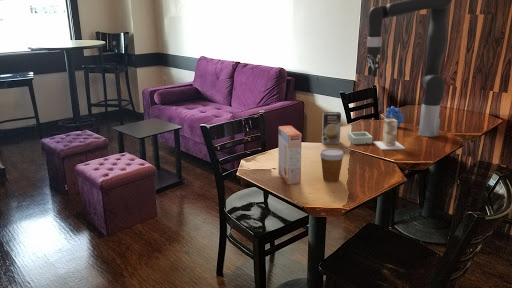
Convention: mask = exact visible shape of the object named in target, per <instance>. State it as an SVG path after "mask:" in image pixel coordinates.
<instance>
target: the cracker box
mask: <svg viewBox="0 0 512 288" xmlns="http://www.w3.org/2000/svg"><path fill="white" fill-rule="evenodd" d="M277 131H278V170H277V171H278V175H280V177H281V178H282V180H284V181H285V183H286V185H298V184H301V183H302V182H301V181H302V140H303V139H302V138H303V137H302V136H303V135H302V133H301V132H300V131H299V130H297V129H296V128H295V127H294V126H293V125H281V126H278V130H277Z"/></svg>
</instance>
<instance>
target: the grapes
mask: <svg viewBox="0 0 512 288" xmlns="http://www.w3.org/2000/svg"><path fill="white" fill-rule="evenodd" d="M384 116H385V117H386V119H395V120H397V121H398V122H397V127H400V126H401V124H403V123H404V113H402V112H401V109H400V108H399V107H397V108H396V107H395V106H393V105H391V107H387V108H386V112H385V113H384Z"/></svg>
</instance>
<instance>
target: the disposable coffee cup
mask: <svg viewBox="0 0 512 288" xmlns="http://www.w3.org/2000/svg"><path fill="white" fill-rule="evenodd" d="M320 151H321V152H319V157H320V160H321V170H322V171H321V172H322V178H323V179H322V180H323V181H325V182H327V183H338V182H339V180H340V177H341V175H340V174H341V170H342V165H343V159H344V156H345V154H344V152H343V150H341V149H339V148H333V147H332V148H331V147H330V148H323V149H321V150H320Z"/></svg>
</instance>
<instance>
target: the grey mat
mask: <svg viewBox="0 0 512 288" xmlns="http://www.w3.org/2000/svg"><path fill="white" fill-rule="evenodd" d="M372 144H374V145H375V146H376V147H377V148H378V149H379V150H381V151H382V150H383V151H385V150H405V149H406V147H405V146H403V144H401V143H399V142H398V141H397V140H396V145H395V146H385V145H384V144H382V141H379V140H378V141H372Z"/></svg>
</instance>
